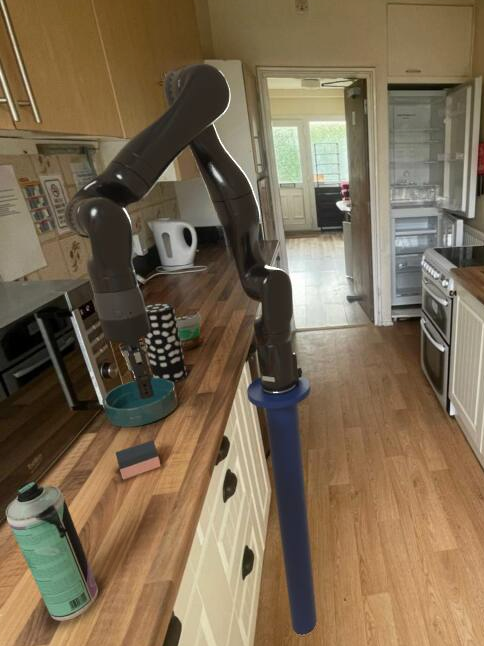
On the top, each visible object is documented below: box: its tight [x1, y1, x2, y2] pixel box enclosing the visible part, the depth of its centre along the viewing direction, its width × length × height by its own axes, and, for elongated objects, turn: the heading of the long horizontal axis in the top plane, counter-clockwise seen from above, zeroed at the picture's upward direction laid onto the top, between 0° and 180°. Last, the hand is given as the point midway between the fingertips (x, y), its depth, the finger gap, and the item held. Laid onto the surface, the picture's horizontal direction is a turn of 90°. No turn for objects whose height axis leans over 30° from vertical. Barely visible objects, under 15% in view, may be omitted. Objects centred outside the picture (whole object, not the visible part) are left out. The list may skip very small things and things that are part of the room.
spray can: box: [5, 480, 99, 622], centre depth 54 cm, size 6×6×20 cm
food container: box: [176, 310, 202, 351], centre depth 134 cm, size 12×6×10 cm, turn 132°
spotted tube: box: [143, 302, 188, 383], centre depth 114 cm, size 8×8×20 cm
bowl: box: [101, 377, 179, 428], centre depth 101 cm, size 15×15×5 cm
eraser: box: [115, 440, 162, 481], centre depth 82 cm, size 6×4×4 cm, turn 126°
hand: (143, 388), depth 84 cm, fingers open, 8 cm apart
